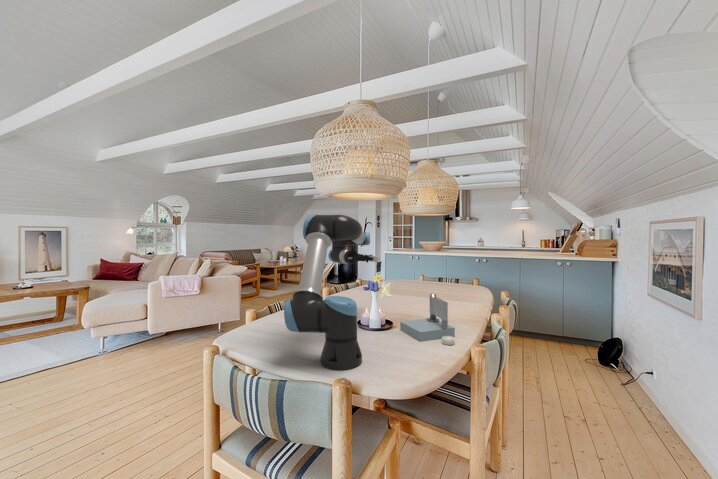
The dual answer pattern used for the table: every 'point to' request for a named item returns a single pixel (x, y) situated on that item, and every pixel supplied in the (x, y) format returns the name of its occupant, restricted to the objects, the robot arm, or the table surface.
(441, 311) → the grey upright panel
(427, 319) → the blue-grey square base
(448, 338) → the cover cap
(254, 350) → the table surface
